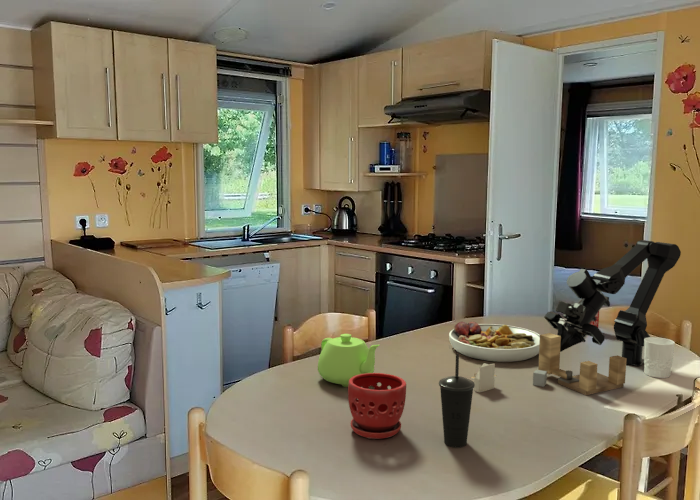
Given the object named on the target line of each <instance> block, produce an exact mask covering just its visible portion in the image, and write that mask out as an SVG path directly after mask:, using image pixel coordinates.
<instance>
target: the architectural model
mask: <svg viewBox="0 0 700 500" xmlns="http://www.w3.org/2000/svg"><path fill="white" fill-rule="evenodd" d="M495 364H496V362H495V363H490V364H488V363H482V365H481V366H479V370H478V371H477V372H476V373H474V376H471V377H470V380H472V381H473V382H474V384H475V387H474V388H473V392H474V391H475V392H477V393H483V392H486V391H490V390H493V389H495V378H497V377H498V376H497V375H496V374H495V373H496V371H495V370H496V369H495V366H496V365H495Z"/></svg>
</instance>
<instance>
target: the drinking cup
mask: <svg viewBox="0 0 700 500" xmlns="http://www.w3.org/2000/svg"><path fill="white" fill-rule="evenodd" d="M459 364H460V353H455V369H454V370H455V372H454V373H455V375H451V376H447V377H443V378H441V379H439V381H438V386H439V387H440V388H439V389H440V399H441V400H440V401H441V403H440V404H441V416H442V427H443V439H444V441H443V442H444V444H445V445H446V446H448V447H452V448H463V447H465V446H466V445H467V443H468V433H469V427H470V426H469V425H470V420H471V419H470V418H471V409H472V400H473V394H474V387H475V384H474V380H472V379H469V378H468V377H465V376H461V375H459V371H460V369H459V367H460V366H459Z"/></svg>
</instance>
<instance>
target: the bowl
mask: <svg viewBox="0 0 700 500" xmlns="http://www.w3.org/2000/svg"><path fill="white" fill-rule="evenodd" d="M540 335H541V334H539V333H538V332H537V331H534V330H530V329H529V328H524V327H520V326H519V327H518V326H514V325H508V324H495V323H478V322H475V321H469V322H468V323H467V322H466V321H459V322H457V323H456V324H455V325H454V327H453V329H452V330H450V331H449V333H448V339H449V342H450V345H451V346H452V348H453V349H455V351H456V352H457V353H458V354H462V355H463V356H466V357H468V358H473V359H475V360H481V361H487V362H495V363H496V362H499V363H501V362H502V363H509V362H510V363H511V362H520V361H526V360H529V359H531V358H534V357H535V356H537V355H539V344H540Z"/></svg>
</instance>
